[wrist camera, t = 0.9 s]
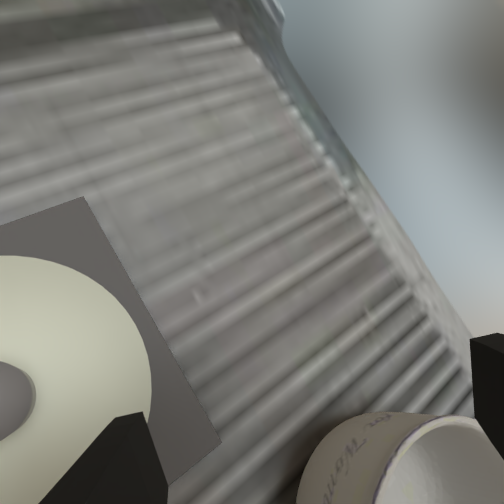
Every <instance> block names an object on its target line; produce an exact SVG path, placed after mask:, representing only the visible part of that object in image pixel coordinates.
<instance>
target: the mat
mask: <svg viewBox="0 0 504 504" xmlns="http://www.w3.org/2000/svg"><path fill="white" fill-rule="evenodd" d="M0 256H23V257H32V258H38V259H42V260H47V261H51V262H55V263H58V264H61V265H63V266H66V267H69V268H72V269H74V270H76V271H78V272H80V273H82V274H84V275H86V276H88V277H89V278H91V279H92V280H94V281H95V282H97V283H98V284H100V285H101V286H103V287H104V288H105V289H106V290H107V291H108V292H109V293H111V294H112V295H113V296H114V297H115V298H116V299H117V300H118V301H119V303H120V304H121V305H122V306H123V307H124V308H125V309H126V311H127V312H128V314H129V315H130V317H131V318H132V320H133V321H134V323H135V325H136V327H137V329H138V331H139V333H140V335H141V337H142V339H143V342H144V346H145V349H146V352H147V355H148V360H149V366H150V371H151V389H152V392H151V405H150V413H149V418H148V423H147V425H148V428H149V431H150V434H151V437H152V440H153V443H154V446H155V449H156V451H157V454H158V457H159V460H160V463H161V466H162V469H163V472H164V475H165V477H166V480H167V483H168V486H169V485H170V484H171V483H173V482H174V481H175V480H176V479H177V478H179V477H180V476H181V475H182V474H184V473H185V472H186V471H187V470H189V469H190V468H191V467H192V466H194V465H195V464H196V463H197V462H199V461H200V460H201V459H202V458H204V457H205V456H206V455H207V454H208V453H210V452H211V451H212V450H213V449H215V448H216V447H217V446H218V445H220V444H221V443H222V441H221V440H220V438H219V436H218V434H217V433H216V431H215V429H214V427H213V425H212V424H211V422H210V420H209V418H208V417H207V415H206V413H205V411H204V410H203V408H202V406H201V404H200V402H199V401H198V399H197V397H196V395H195V394H194V392H193V390H192V388H191V386H190V385H189V383H188V381H187V379H186V378H185V376H184V374H183V372H182V370H181V369H180V367H179V365H178V363H177V362H176V360H175V358H174V356H173V355H172V353H171V351H170V349H169V347H168V346H167V344H166V342H165V340H164V339H163V337H162V335H161V333H160V331H159V330H158V328H157V326H156V324H155V323H154V321H153V319H152V317H151V316H150V314H149V312H148V310H147V308H146V307H145V305H144V303H143V301H142V300H141V298H140V296H139V294H138V292H137V291H136V289H135V287H134V285H133V284H132V282H131V280H130V278H129V276H128V275H127V273H126V271H125V269H124V268H123V266H122V264H121V262H120V261H119V259H118V257H117V255H116V253H115V252H114V250H113V248H112V246H111V245H110V243H109V241H108V239H107V237H106V236H105V234H104V232H103V230H102V229H101V227H100V225H99V223H98V222H97V220H96V218H95V216H94V214H93V213H92V211H91V209H90V207H89V206H88V204H87V202H86V200H85V198H84V197H80V198H77V199H74V200H71V201H69V202H66V203H63V204H60V205H57V206H55V207H52V208H49V209H46V210H43V211H40V212H38V213H35V214H32V215H29V216H26V217H24V218H21V219H18V220H15V221H12V222H10V223H7V224H4V225H1V226H0Z"/></svg>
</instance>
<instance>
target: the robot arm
mask: <svg viewBox="0 0 504 504" xmlns="http://www.w3.org/2000/svg"><path fill="white" fill-rule="evenodd" d="M470 352H471V367H472V383H473V398H474V414H475V419H476V420H477V422H478V423H479V425H480V426H481V428H482V429H483V431H484V432H485V434H486V435H487V437H488V438H489V440H490V441H491V443H492V444H493V446H494V447H495V449H496V450H497V451H498V453H499V454H500V456H501V457H502V459H503V460H504V334H500V333H495V334H490V335H486V336H481V337H477V338H472V339H470ZM167 498H168V483H167V480H166V477H165V475H164V472H163V469H162V466H161V463H160V460H159V457H158V454H157V451H156V449H155V446H154V443H153V440H152V437H151V434H150V431H149V428H148V425H147V423H146V420H145V417H144V414H143V411H142V412H137V413H133V414H128V415H124V416H119V417H115V418H114V419H113V420H112V421H111V422H110V423H109V424H108V425H107V426H106V428H105V429H104V430H103V431H102V432H101V433H100V434H99V435H98V436H97V438H96V439H95V440H94V441H93V442H92V443H91V444H90V446H89V447H88V448H87V449H86V450H85V451H84V452H83V454H82V455H81V456H80V457H79V458H78V459H77V461H76V462H75V463H74V464H73V465H72V466H71V467H70V468H69V470H68V471H67V472H66V473H65V474H64V475H63V476H62V478H61V479H60V480H59V481H58V482H57V483H56V484H55V485H54V487H53V488H52V489H51V490H50V491H49V492H48V493H47V495H46V496H45V497H44V498H43V499H42V500H41V501H40V502H39V503H38V504H167Z"/></svg>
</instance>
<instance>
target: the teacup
mask: <svg viewBox="0 0 504 504" xmlns="http://www.w3.org/2000/svg"><path fill="white" fill-rule="evenodd" d="M296 504H504V460H503V459H502V457H501V456H500V454H499V453H498V451H497V450H496V449H495V447H494V446H493V444H492V443H491V441H490V440H489V438H488V437H487V435H486V434H485V432H484V431H483V429H482V428H481V426H480V425H479V423H478V422H477V420H476V419H471V418H468V417H465V416H459V415H442V416H434V415H426V414H415V413H403V412H373V413H366V414H362V415H359V416H355V417H353V418H350V419H348V420H346V421H344V422H343V423H341V424H339V425H338V426H337V427H335V428H334V429H333V430H332V431H330V432H329V433H328V434H327V435H326V436H325V437H324V438H323V440H322V441H321V442H320V443H319V445H318V446H317V447H316V449H315V450H314V452H313V453H312V455H311V457H310V459H309V461H308V463H307V465H306V467H305V470H304V472H303V475H302V478H301V481H300V485H299V488H298V493H297V499H296Z"/></svg>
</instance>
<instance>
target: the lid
mask: <svg viewBox="0 0 504 504" xmlns="http://www.w3.org/2000/svg"><path fill="white" fill-rule="evenodd" d="M151 392H152V389H151V371H150V366H149V360H148V355H147V352H146V349H145V346H144V342H143V339H142V337H141V335H140V333H139V331H138V329H137V327H136V325H135V323H134V321H133V320H132V318H131V317H130V315H129V314H128V312H127V311H126V309H125V308H124V307H123V306H122V305H121V304H120V303H119V301H118V300H117V299H116V298H115V297H114V296H113V295H112V294H111V293H109V292H108V291H107V290H106V289H105V288H104V287H103V286H101V285H100V284H98V283H97V282H95V281H94V280H92V279H91V278H89V277H88V276H86V275H84V274H82V273H80V272H78V271H76V270H74V269H72V268H69V267H66V266H63V265H61V264H58V263H55V262H51V261H47V260H42V259H38V258H32V257H23V256H0V504H38V503H39V502H40V501H41V500H42V499H43V498H44V497H45V496H46V495H47V493H48V492H49V491H50V490H51V489H52V488H53V487H54V485H55V484H56V483H57V482H58V481H59V480H60V479H61V478H62V476H63V475H64V474H65V473H66V472H67V471H68V470H69V468H70V467H71V466H72V465H73V464H74V463H75V462H76V461H77V459H78V458H79V457H80V456H81V455H82V454H83V452H84V451H85V450H86V449H87V448H88V447H89V446H90V444H91V443H92V442H93V441H94V440H95V439H96V438H97V436H98V435H99V434H100V433H101V432H102V431H103V430H104V429H105V428H106V426H107V425H108V424H109V423H110V422H111V421H112V420H113V419H114V418H115V417H119V416H124V415H128V414H133V413H137V412H142V411H143V414H144V417H145V420H146V423H148V418H149V413H150V405H151Z"/></svg>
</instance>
